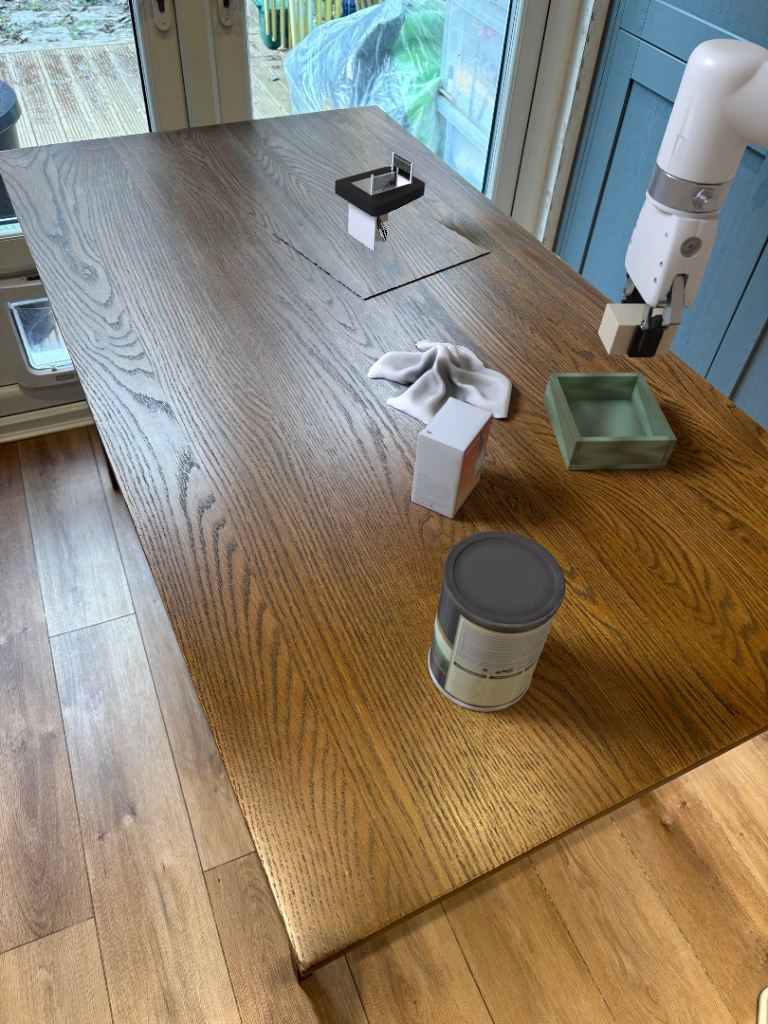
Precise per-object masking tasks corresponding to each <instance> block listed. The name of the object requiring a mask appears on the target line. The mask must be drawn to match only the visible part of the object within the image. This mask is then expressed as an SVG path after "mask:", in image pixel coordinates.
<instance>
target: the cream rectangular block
mask: <svg viewBox="0 0 768 1024" xmlns="http://www.w3.org/2000/svg"><path fill="white" fill-rule="evenodd" d="M644 307H645V304H621V303H606V305H605V310H604V312H603V316H602V319H601V322H600V325H599V328H598V332H597V334H598V336H599V338H600V340H601V343H602V344H603V346H604V349H605V351H606V353H607V354H608V356H628V355H627V350H628V347H629V344H630V342H631V339H632V336H633V333H634V330H635V327H636V325H640V324H641V320H642V315H643V311H644ZM662 312H663V308H654V309H653V313H652V317H653V316H655V315H661V314H662ZM678 328H679V325H675V326H670V327H668V329H667V330H664V333H663V335H662V338H661V341H660V343H659V346H658V348H657V351H656V354H655V356H667V355H668V353H669V351H670V348H671V345H672V343H673V340H674V338H675V336H676V333H677V330H678Z"/></svg>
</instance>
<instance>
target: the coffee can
mask: <svg viewBox="0 0 768 1024" xmlns="http://www.w3.org/2000/svg"><path fill="white" fill-rule="evenodd" d="M441 576H442V580H441V585H440V590H439V591H440V592H439V596H438V597H439V598H438V603H437V610H436V614H435V620H434V626H433V632H432V637H431V643H430V647H429V650H428V653H427V667H428V671H429V674H430V678H431V679H432V682H433V683H434V685H435V686H436V688H437V689H438V690H439V692H440V693H441V694H442V695H443V696H444V697H445V698H446V699H448V701H451V702H452V703H454V704H456V705H457V706H460V707H462V708H465V709H467V710H471V711H475V712H482V713H487V712H497V711H501V710H505V709H507V708H509V707H511V706H513V705H515V704H516V703H517V702H519V701H520V700H521V699H522V698H523V697H524V696H525V694H526V693H527V692H528V690H529V688H530V686H531V683H532V680H533V679H532V678H533V675H534V673H535V669H536V667H537V664H538V661H539V659H540V656H541V653H542V652H543V649H544V646H545V645H546V644H545V643H546V641H547V638H548V635H549V633H550V630H551V628H552V625H553V622H554V619H555V618H556V614H557V612H558V611H559V609H560V607H561V605H562V603H563V601H564V599H565V596H566V578H565V574H564V572H563V569H562V567H561V565H560V563H559V561H558V560H557V559H556V558H555V556H554V555H553V554H552V553H551V552H550V551H549V550H548V548H546V547H544V546H543V545H541V544H540V543H539V542H537V541H536V540H535V539H532V538H530V537H528V536H526V535H524V534H520V533H517V532H512V531H507V530H483V531H478V532H474V533H471V534H468V535H467V536H464V538H461V539H460V540H459V541H457V542H456V543H455V544H454V545H453V546H452V547H451V548H450V550H449V551H448V553H447V554H446V556H445V558H444V563H443V565H442V575H441Z"/></svg>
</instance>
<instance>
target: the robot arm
mask: <svg viewBox="0 0 768 1024" xmlns="http://www.w3.org/2000/svg"><path fill="white" fill-rule="evenodd" d="M748 144H751V145H754V146H755V145H756V146H759V147H762V148H765V149H768V49H766V48H765V47H763V46H761V45H759V44H756V43H753V42H749V41H746V40H740V39H739V40H738V39H733V38H714V39H708V40H705V41H703V42H701V43H700V44H698V45H697V46H696V47H695V48H694V49H693V50H692V52H691V54H690V56H689V58H688V60H687V62H686V66H685V69H684V71H683V75H682V78H681V81H680V85H679V87H678V92H677V93H676V97H675V101H674V103H673V107H672V110H671V113H670V116H669V119H668V122H667V125H666V129H665V132H664V135H663V138H662V141H661V144H660V147H659V151H658V154H657V157H656V160H655V163H654V166H653V169H652V173H651V176H650V178H649V182H648V185H647V188H646V192H645V200H644V203H643V205H642V208H641V210H640V213H639V215H638V217H637V220H636V223H635V226H634V228H633V230H632V234H631V237H630V240H629V244H628V247H627V250H626V254H625V258H624V267H625V269H626V273H625V276H626V282H625V285H624V287H623V289H622V292H621V293H622V299H621V301H620V304H645V307H644V311H643V315H642V320H641V324H640V325H636V327H635V330H634V333H633V336H632V339H631V342H630V344H629V347H628V350H627V355H626V356H627V357H628V358H631V359H634V358H636V359H637V358H638V359H639V358H640V359H641V358H643V359H646V358H647V359H649V358H650V359H653V358H654V357H655V356H656V355H655V354H656V351H657V348H658V346H659V343H660V341H661V338H662V335H663V333H664V330H667V329H668V327H670V326H675V325H678V326H680V325H681V324H682V318H683V308H684V309H690V308H691V307H692V306H693V304H694V303H695V300H696V298H697V295H698V292H699V289H700V287H701V284H702V281H703V279H704V276H705V273H706V270H707V267H708V264H709V260H710V258H711V254H712V251H713V247H714V243H715V240H716V235H717V230H718V225H719V220H720V217H719V215H718V214H720V213H721V211H722V210H723V206H724V204H725V202H726V199H727V196H728V194H729V191H730V188H731V186H732V185H733V181H734V178H735V177H736V176H735V175H736V174H737V171H738V168H739V165H740V163H741V162H742V161H741V160H742V159H743V156H744V154H745V151H746V149H747V146H748ZM665 297H666V299H664V298H665ZM654 308H663V312H662V314H661V315H655V316H653V317H652V313H653V309H654Z"/></svg>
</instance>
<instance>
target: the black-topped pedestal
mask: <svg viewBox="0 0 768 1024" xmlns="http://www.w3.org/2000/svg"><path fill="white" fill-rule="evenodd" d="M414 166H415V164H414V163H413V162H410V161H409V160H407V159H405V158H404V157H401V156H399V155H398V154H396V153H395V151H392V156H391V166H383V167H379V168H375V169H372V170H368V171H364V172H360V173H357V174H353V175H349V176H346V177H343V178H339V179H336V180H334V193H335V195H337V197H340V198H341V199H343V200H345V201H346V202H347V203H348V209H347V210H348V233H349V234H350V235H352V236H353V237H354V238H355V239H357V240H358V241H360V242H361V243H363V244H364V245H365V246H367V247H368V248H370V249H372V250H373V251H375V242H379V241H382V242H385V241H386V237H385V234H384V230H385V229H386V228H385V227H384V228H385V229H384V230H383V227H382V225H383V222H385V221H388V213H389V212H391V211H393V210H396V209H398V208H400V207H402V206H404V205H406V204H410V203H412V202H414V201H416V200H418V199H420V198H423V196H424V195H425V190H426V182H425V181H423V180H422V179H420V178H418V177H416V176H415V175H414ZM381 223H382V225H381ZM383 226H384V225H383ZM379 229H381V230H382V232H383V235H384V238H385V241H384V239H383V237H381V235H380V232H379ZM386 231H387V230H385V233H386V236H387V232H386Z"/></svg>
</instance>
